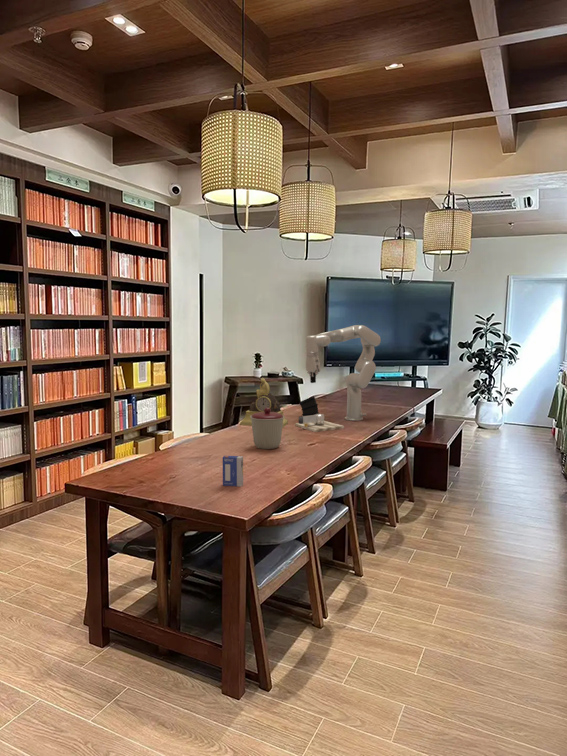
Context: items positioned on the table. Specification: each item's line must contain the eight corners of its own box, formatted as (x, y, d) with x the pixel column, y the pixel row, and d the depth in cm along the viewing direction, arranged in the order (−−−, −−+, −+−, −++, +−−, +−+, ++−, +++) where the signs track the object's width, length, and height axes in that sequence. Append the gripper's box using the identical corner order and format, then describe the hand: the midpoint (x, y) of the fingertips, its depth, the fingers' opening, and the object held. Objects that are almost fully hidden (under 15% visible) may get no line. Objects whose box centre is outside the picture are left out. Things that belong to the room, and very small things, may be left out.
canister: (262, 441, 286) (262, 403, 284) (290, 446, 277) (291, 406, 275) (243, 448, 270) (243, 408, 268) (272, 453, 261) (272, 411, 259)
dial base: (323, 422, 343) (323, 417, 342) (344, 428, 324) (344, 423, 324) (295, 425, 331) (295, 420, 331) (315, 432, 313) (315, 426, 312)
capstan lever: (319, 422, 332) (319, 413, 331) (326, 424, 327) (326, 414, 326) (296, 426, 320) (296, 416, 319) (302, 427, 315) (302, 418, 315)
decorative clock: (240, 425, 333) (239, 378, 330) (246, 421, 345) (246, 376, 342) (282, 427, 325) (282, 380, 322) (287, 424, 338) (288, 378, 334)
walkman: (222, 485, 208) (222, 456, 207) (224, 483, 211) (224, 454, 210) (241, 486, 207) (241, 457, 206) (243, 484, 210) (243, 455, 209)
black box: (322, 416, 357) (313, 396, 358) (305, 423, 361) (296, 403, 362) (323, 415, 361) (314, 395, 361) (306, 422, 365) (297, 402, 365)
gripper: (323, 354, 333) (324, 383, 335) (310, 353, 346) (311, 381, 348) (314, 355, 329) (315, 384, 331) (301, 354, 342) (301, 382, 344)
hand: (313, 382), depth 340 cm, fingers closed
